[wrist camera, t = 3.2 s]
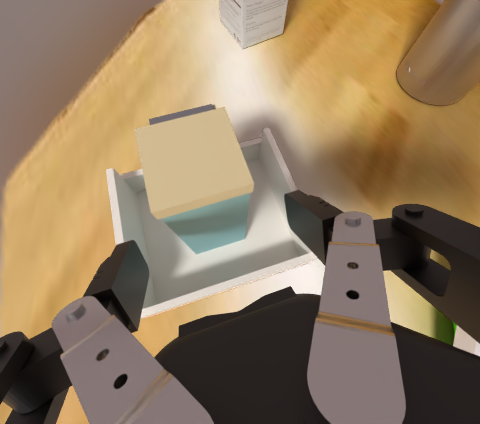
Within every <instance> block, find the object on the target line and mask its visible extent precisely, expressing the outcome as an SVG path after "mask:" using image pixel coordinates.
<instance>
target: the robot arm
mask: <svg viewBox="0 0 480 424" xmlns="http://www.w3.org/2000/svg"><path fill="white" fill-rule="evenodd" d="M397 79H398V82H399V84H400V85H401V87H402V88H403V89H404V90H405V91H406V92H407V93H408V94H409V95H411V96H412V97H414V98H416V99H417V100H419V101H422V102H425V103H428V104H432V105H450V104H453V103H456V102H458V101H459V100H461V99H462V98H463V97H464V96H465V95H466V94H467V93H468V92H470V91H471V90H472V89H473V88H474V87H475V86H476V85H477V84H479V83H480V0H444V2H443V3H442V5H441V6H440V8H439V9H438V10H437V12H436V13H435V15H434V16H433V18H432V19H431V21H430V22H429V23H428V25H427V26H426V28H425V29H424V31H423V32H422V33H421V35H420V36H419V38H418V39H417V41H416V42H415V43H414V45H413V46H412V48H411V49H410V51H409V52H408V54H407V55H406V57H405V58H404V59H403V61H402V62H401V64H400V65H399V67H398V69H397ZM284 201H285V207H286V214H287V221H288V224H289V227H290V228H291V230H292V231H293V232H294V233H295V234H296V235H297V236H298V237H299V239H300V240H301V241H302V242H303V243H304V244H305V245H306V246H307V247H308V248H309V249H310V250H311V251H312V252H313V253H314V254H315V255H316V256H317V258H318V259H319V260H320V261H321V262H322V263H323V264H324V265H325V273H324V279H323V286H322V293H321V295H315V294H295V292H294V291H293V289H292V287H291V286H290V287H287V288H284V289H282V290H279V291H276V292H273V293H270V294H268V295H265V296H263V297H261V298H260V299H258V300H257V301H255V302H253V303H252V304H250V305H248V306H247V307H245V308H244V309H242V310H240V311H238V312H233V313H225V314H218V315H210V316H206V317H203V318H200V319H197V320H194V321H192V322H189V323H186V324H183V325H180V326H179V337H177V338H176V339H174V340H173V341H172V342H170V343H169V344H168V345H166V346H165V347H164V348H163V349H162V350H161V351H160V352H159V353H158V354H157V355H156V356H155V357H153V356H152V355H151V354H150V353H149V352H148V351H147V350H146V349H145V348H144V347H143V345H142V344H141V343H140V342H139V341H138V340H137V339H136V338H135V337H134V336H133V335H132V334H131V333H133V332H135V331H138V327H139V323H140V318H141V313H142V308H143V304H144V299H145V294H146V290H147V285H148V280H149V268H148V265H147V263H146V261H145V259H144V257H143V255H142V253H141V251H140V249H139V247H138V245H137V243H136V242H135V241H134V240H130V241H127V242H124V243H120V244H117V245H116V247H115V249H114V251H113V253H112V255H111V256H110V257H108V258H107V259H106V260H105V261H104V262H103V263H102V264H101V265H100V267H99V269H98V270H97V272H96V273H97V274H95V276H94V278H93V280H92V281H91V283H90V285H89V287H88V288H87V290H86V292H85V294H84V295H83V297H82V298H80V299H77V300H75V301H73V302H72V303H70V304H69V305H67V306H66V307H65V308H63V309H62V310H61V311H60V312H59V313H58V314H57V315H56V317H55V318H54V320H53V322H52V328H50V329H48V330H46V331H44V332H42V333H40V334H39V335H37V336H35V337H33V338H31V339H28V338H27V337H26V336H25V335H24V334H23V333H22V332H13V333H10V334H7V335H5V336H3V337H1V338H0V404H1V403H2V401H3V402H4V403H6V404H7V405H8V406H10V407H11V408H12V409H13V410H12V412H11V414H10V415H9V417H8V419H7V421H6V423H5V424H56V422H57V419H58V416H59V414H60V411H61V408H62V406H63V403H64V400H65V397H66V395H67V392H68V389H69V387H70V386H72V385H73V387H74V389H75V392H76V394H77V396H78V399H79V401H80V403H81V405H82V408H83V410H84V412H85V414H86V417H87V419H88V421H89V423H90V424H480V356H478V355H475V354H472V353H470V352H467V351H465V350H462V349H460V348H457V347H454V346H452V345H449V344H447V343H444V342H442V341H439V340H436V339H434V338H431V337H429V336H426V335H424V334H421V333H418V332H416V331H413V330H411V329H408V328H406V327H403V326H400V325H398V324H395V323H393V322H390V315H389V309H388V302H387V295H386V288H385V282H384V275H383V271H386V270H391V271H392V272H393V273H394V274H395V275H397V276H398V277H399V278H400V279H401V280H403V281H404V282H405V283H406V284H408V285H409V286H410V287H411V288H412V289H414V290H415V291H416V292H417V293H418V294H420V295H421V296H422V297H423V298H425V299H426V300H427V301H428V302H429V303H431V304H432V305H433V306H434V307H435V308H437V309H438V310H439V311H440V312H442V313H443V314H444V315H445V316H446V317H448V318H449V319H450V320H451V321H453V322H454V323H455V324H456V325H457V326H459V327H460V328H461V329H462V330H463V331H465V332H466V333H467V334H468V335H470V336H471V337H472V338H473V339H474V340H476V341H477V342H478V343H479V344H480V227H477V226H475V225H472V224H470V223H467V222H465V221H462V220H460V219H458V218H455V217H453V216H450V215H448V214H445V213H443V212H440V211H438V210H436V209H433V208H431V207H428V206H424V205H419V204H404V205H399V206H396V207H395V208H393V210H392V218H387V219H379V220H373V219H372V217H371V216H369V215H368V214H365V213H362V212H345V213H344V212H342V211H341V210H339V209H337V208H336V207H334V206H332V205H330V204H329V203H327V202H325V201H324V200H322V199H321V198H319V197H315V196H311V195H310V196H307V195H306V194H304V193H303V192H301V191H300V190H296V191H293V192H289V193H286V194H285V195H284ZM431 249H433V250H434V251H436V252H438V253H439V254H441V255H443V256H444V257H445V258H446V259H447V260H448V262H449V263H450V266H451V271H450V270H448V269H446V268H445V267H443V266H442V265H440V264H438V263H437V262H435V261H434V260H432V259H430V253H431Z"/></svg>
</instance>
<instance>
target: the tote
mask: <svg viewBox="0 0 480 424" xmlns="http://www.w3.org/2000/svg"><path fill="white" fill-rule="evenodd" d="M239 146H240V148H241V151H242V153H243V156H244V159H245V161H246V164H247V166H248V169H249V171H250V174H251V177H252V179H253V182H254V188H253V192H251V193H250V200H249V209H248V217H247V226H246V235H245V239H244V240H241V241H237V242H234V243H231V244H228V245H225V246H222V247H218V248H215V249H212V250H209V251H206V252H203V253H200V254H195V253H194V252H193V251H192V250H191V249H190V248H189V247H188V246H187V245H186V244H185V243H184V242H183V241H182V240H181V239H180V238H179V237H178V236H177V235H176V234H175V233H174V232H173V231H172V230H171V229H170V228H169V227H168V226H167V225H166V224H165V223H164V222H163V221H162V220H161V219H159V220H158V219H157V218H155V217H154V216H153V215H152V214H151V211H150V206H149V201H148V196H147V191H146V186H145V181H144V176H143V171H142V169H140V170H136V171H132V172H128V173H124V174H121V175H119V174H118V173H117V172H116V171H115V170H114V169H113V168H111V169H107V170H106V174H107V182H108V189H109V197H110V204H111V211H112V219H113V226H114V234H115V241H116V245H117V244H120V243H124V242H127V241H130V240H134V241H135V242H136V243H137V245H138V247H139V249H140V251H141V253H142V255H143V257H144V259H145V261H146V263H147V265H148V268H149V280H148V285H147V290H146V294H145V299H144V304H143V308H142V313H141V318H146V317H150V316H155V315H157V314H160V313H163V312H166V311H169V310H172V309H175V308H178V307H181V306H184V305H187V304H190V303H193V302H195V301H198V300H201V299H204V298H207V297H210V296H213V295H216V294H219V293H222V292H225V291H228V290H231V289H234V288H236V287H239V286H242V285H245V284H248V283H251V282H254V281H257V280H260V279H263V278H266V277H269V276H272V275H274V274H277V273H280V272H283V271H286V270H289V269H292V268H295V267H298V266H301V265H304V264H307V263H309V262H311V261H313V260H315V259H317V256H316V255H315V254H314V253H313V252H312V251H311V250H310V249H309V248H308V247H307V246H306V245H305V244H304V243H303V242H302V241H301V240H300V239H299V237H298V236H297V235H296V234H295V233H294V232H293V231H292V230H291V228H290V227H289V224H288V221H287V214H286V207H285V201H284V195H285V194H286V193H289V192H293V191H296V190H298V189H297V187H296V185H295V183H294V181H293V178H292V176H291V174H290V172H289V170H288V167H287V165H286V163H285V161H284V159H283V157H282V154H281V152H280V150H279V148H278V146H277V144H276V141H275V139H274V137H273V135H272V133H271V130H270V128H269V127H268V128H264V129H263V133H262V137H260V138H256V139H253V140H249V141H245V142H241V143H239ZM141 318H140V319H141Z"/></svg>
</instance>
